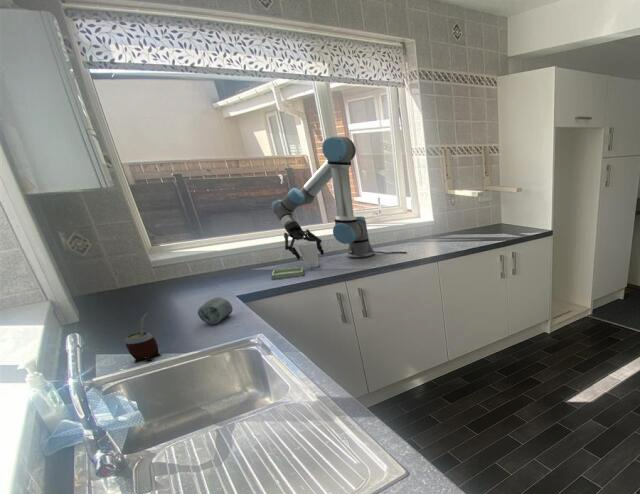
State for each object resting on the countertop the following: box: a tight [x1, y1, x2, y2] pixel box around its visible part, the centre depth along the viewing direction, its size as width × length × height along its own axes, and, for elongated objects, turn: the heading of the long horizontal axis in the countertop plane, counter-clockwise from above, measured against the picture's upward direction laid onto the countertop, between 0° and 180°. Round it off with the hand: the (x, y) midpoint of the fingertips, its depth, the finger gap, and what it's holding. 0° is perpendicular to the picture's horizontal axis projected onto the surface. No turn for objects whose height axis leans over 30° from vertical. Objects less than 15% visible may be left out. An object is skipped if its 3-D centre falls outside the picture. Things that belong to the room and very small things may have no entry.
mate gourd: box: [124, 311, 161, 363], centre depth 129 cm, size 8×8×15 cm
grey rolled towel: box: [197, 296, 234, 326], centre depth 160 cm, size 14×10×10 cm
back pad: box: [271, 266, 304, 280], centre depth 220 cm, size 14×12×2 cm
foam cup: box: [297, 241, 319, 269], centre depth 232 cm, size 10×9×13 cm
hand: (311, 255), depth 232 cm, fingers open, 13 cm apart
